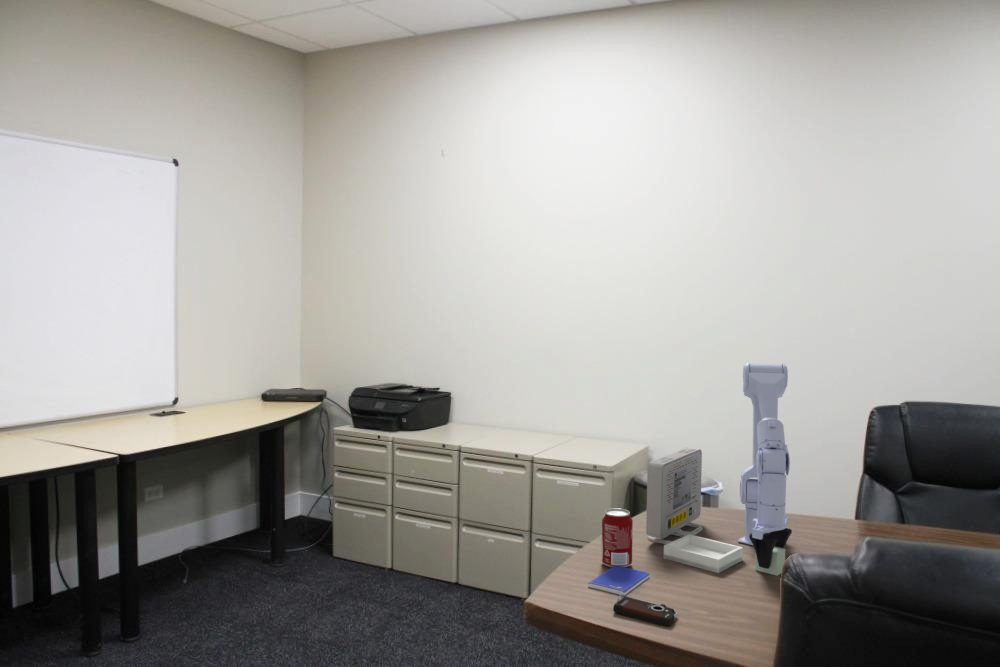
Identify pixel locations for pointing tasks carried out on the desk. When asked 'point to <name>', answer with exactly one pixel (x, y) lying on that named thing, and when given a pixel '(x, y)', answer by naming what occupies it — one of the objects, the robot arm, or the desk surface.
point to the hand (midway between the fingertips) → (769, 563)
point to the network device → (673, 494)
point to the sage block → (773, 562)
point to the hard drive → (619, 580)
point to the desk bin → (703, 553)
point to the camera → (645, 611)
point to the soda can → (617, 538)
